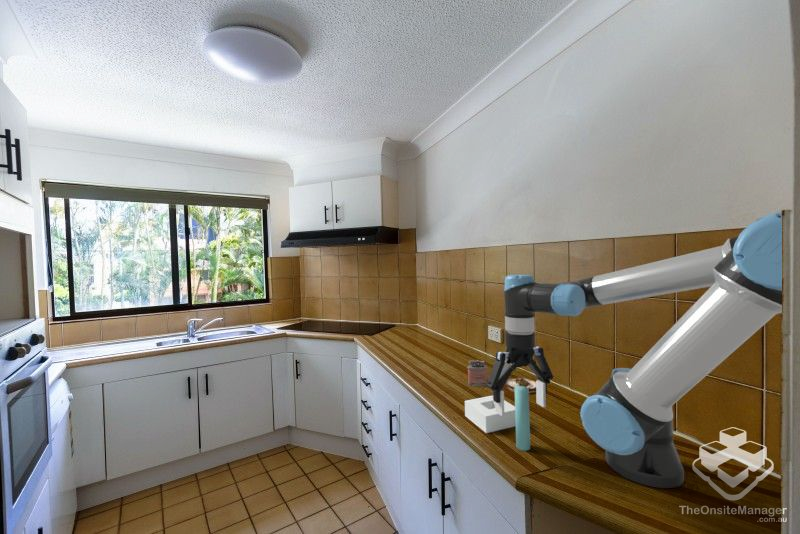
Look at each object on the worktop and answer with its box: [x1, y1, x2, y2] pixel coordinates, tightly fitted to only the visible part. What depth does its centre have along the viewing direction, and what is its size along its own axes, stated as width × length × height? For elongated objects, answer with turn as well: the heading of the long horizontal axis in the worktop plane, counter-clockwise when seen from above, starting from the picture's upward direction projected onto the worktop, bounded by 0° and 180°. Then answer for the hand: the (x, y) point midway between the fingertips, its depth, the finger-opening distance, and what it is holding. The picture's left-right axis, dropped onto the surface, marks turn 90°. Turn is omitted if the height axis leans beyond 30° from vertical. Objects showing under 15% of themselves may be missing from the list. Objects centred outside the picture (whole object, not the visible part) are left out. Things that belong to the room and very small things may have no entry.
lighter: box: [466, 359, 488, 387], centre depth 136 cm, size 8×3×10 cm, turn 84°
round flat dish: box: [505, 377, 536, 394], centre depth 131 cm, size 15×15×4 cm
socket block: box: [464, 395, 516, 434], centre depth 105 cm, size 12×12×5 cm
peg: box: [514, 386, 531, 452], centre depth 90 cm, size 4×4×16 cm
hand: (521, 409), depth 90 cm, fingers open, 13 cm apart
